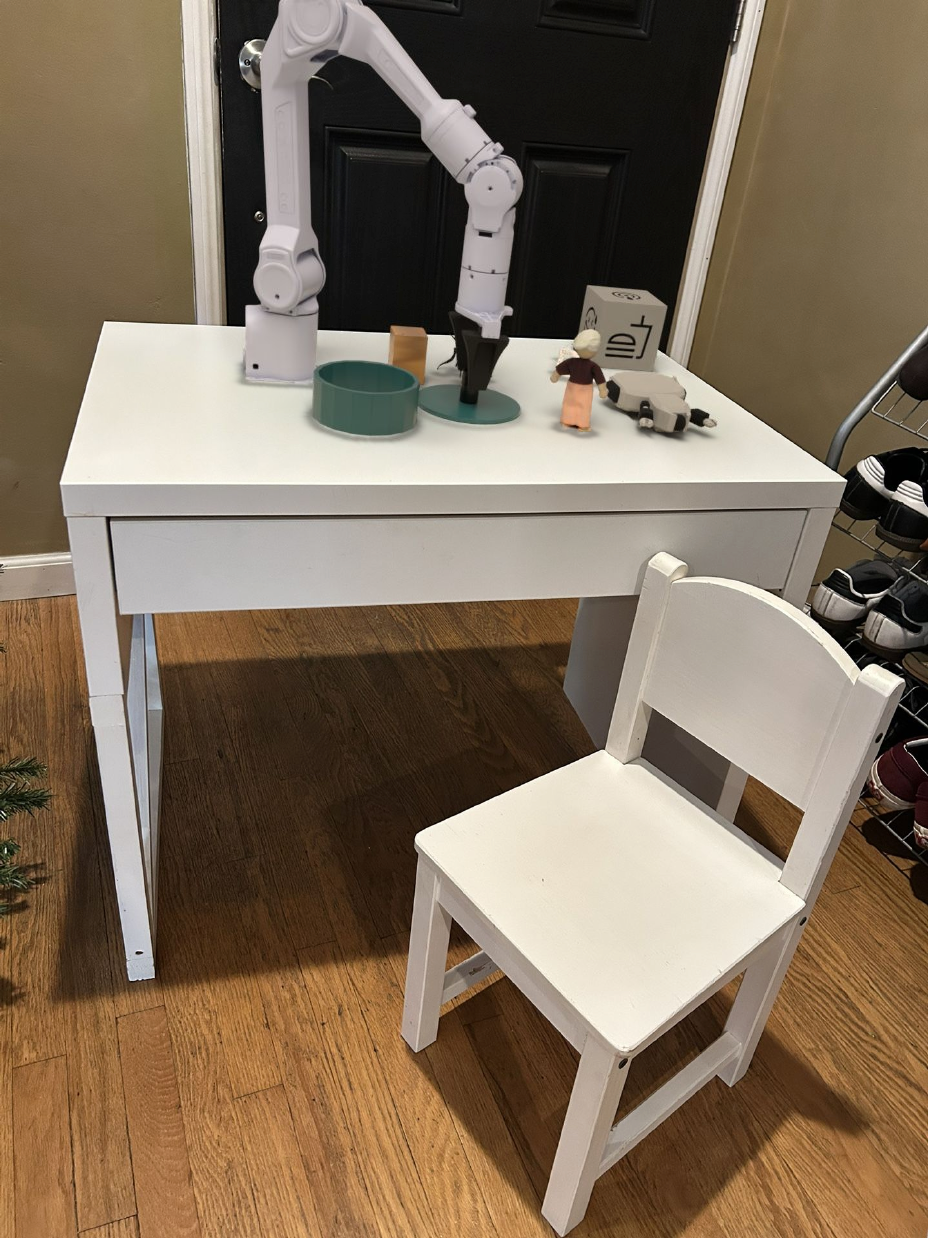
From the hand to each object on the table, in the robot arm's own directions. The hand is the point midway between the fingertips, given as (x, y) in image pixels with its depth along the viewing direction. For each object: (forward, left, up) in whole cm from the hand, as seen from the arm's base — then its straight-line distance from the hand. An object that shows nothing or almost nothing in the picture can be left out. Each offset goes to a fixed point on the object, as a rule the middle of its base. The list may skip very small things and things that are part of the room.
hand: (471, 379), depth 120 cm
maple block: (-7, +10, -4) cm, 12 cm away
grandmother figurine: (+12, -5, -4) cm, 14 cm away
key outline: (+19, +20, -4) cm, 28 cm away
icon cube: (+29, +28, -4) cm, 41 cm away
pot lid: (0, 0, -3) cm, 3 cm away
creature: (+2, +15, -4) cm, 15 cm away
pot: (-14, -6, -4) cm, 16 cm away
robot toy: (+25, 0, -4) cm, 26 cm away
